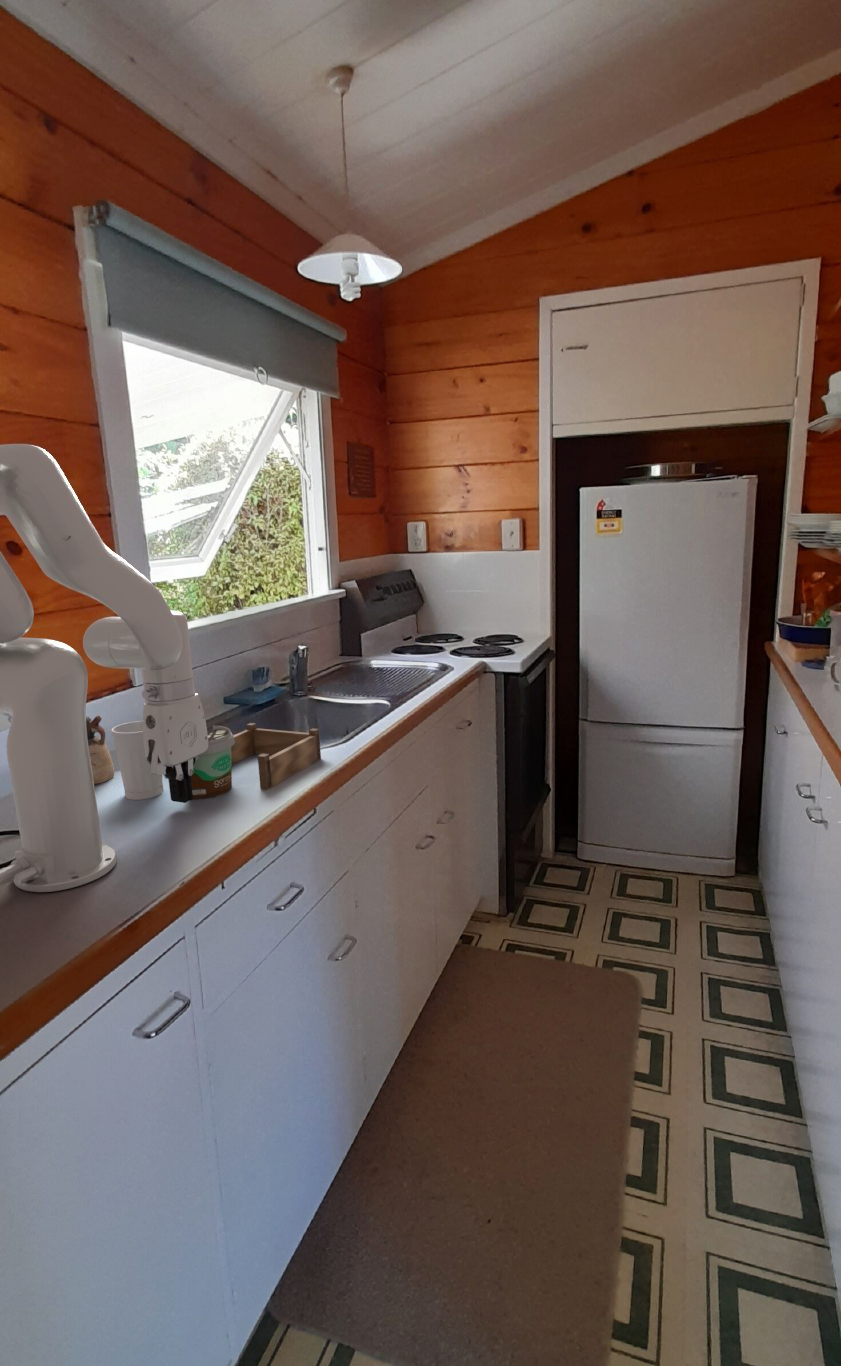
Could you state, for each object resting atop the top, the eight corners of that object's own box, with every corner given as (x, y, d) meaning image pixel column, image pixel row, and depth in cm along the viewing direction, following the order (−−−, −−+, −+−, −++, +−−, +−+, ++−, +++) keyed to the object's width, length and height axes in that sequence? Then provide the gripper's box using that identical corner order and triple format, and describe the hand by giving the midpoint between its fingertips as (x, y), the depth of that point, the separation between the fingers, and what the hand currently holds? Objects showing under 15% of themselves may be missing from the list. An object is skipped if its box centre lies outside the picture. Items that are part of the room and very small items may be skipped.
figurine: (84, 772, 141) (76, 712, 138) (121, 772, 140) (113, 710, 138) (65, 786, 134) (56, 722, 131) (104, 785, 133) (95, 721, 131)
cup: (137, 784, 133) (129, 720, 131) (177, 785, 131) (169, 720, 129) (110, 800, 125) (101, 732, 123) (152, 802, 124) (144, 733, 121)
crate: (267, 789, 128) (264, 756, 126) (193, 780, 134) (190, 748, 133) (320, 758, 144) (318, 728, 143) (252, 751, 150) (250, 722, 149)
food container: (217, 804, 122) (212, 745, 120) (184, 802, 123) (178, 744, 121) (250, 778, 134) (246, 725, 132) (219, 777, 135) (214, 724, 133)
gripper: (154, 702, 108) (167, 820, 112) (219, 681, 121) (229, 787, 125) (115, 699, 111) (130, 814, 115) (183, 679, 124) (194, 782, 128)
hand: (182, 800), depth 120 cm, fingers closed
